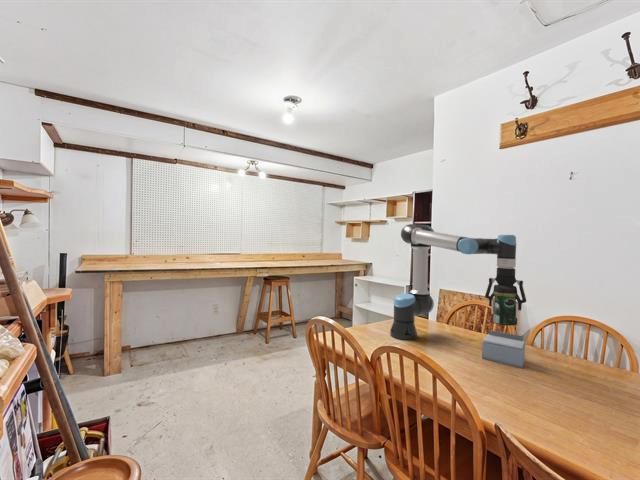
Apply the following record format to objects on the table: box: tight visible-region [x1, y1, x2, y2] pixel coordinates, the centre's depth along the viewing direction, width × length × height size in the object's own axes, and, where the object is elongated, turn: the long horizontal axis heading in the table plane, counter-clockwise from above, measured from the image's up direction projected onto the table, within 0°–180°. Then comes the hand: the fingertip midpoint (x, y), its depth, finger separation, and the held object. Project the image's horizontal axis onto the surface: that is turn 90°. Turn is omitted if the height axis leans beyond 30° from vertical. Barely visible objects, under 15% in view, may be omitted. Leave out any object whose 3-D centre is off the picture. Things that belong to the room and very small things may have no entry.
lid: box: [482, 329, 526, 349], centre depth 145 cm, size 16×12×3 cm
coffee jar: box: [492, 284, 518, 327], centre depth 144 cm, size 10×8×19 cm
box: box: [481, 340, 526, 369], centre depth 145 cm, size 16×12×8 cm
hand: (504, 315), depth 144 cm, fingers closed on coffee jar, 9 cm apart
